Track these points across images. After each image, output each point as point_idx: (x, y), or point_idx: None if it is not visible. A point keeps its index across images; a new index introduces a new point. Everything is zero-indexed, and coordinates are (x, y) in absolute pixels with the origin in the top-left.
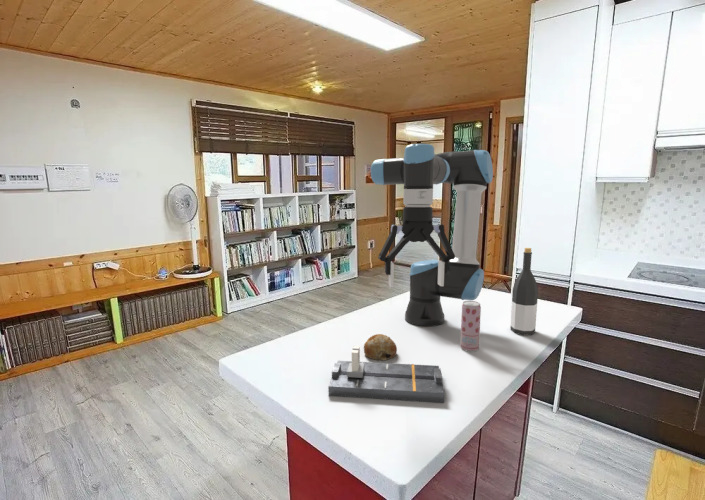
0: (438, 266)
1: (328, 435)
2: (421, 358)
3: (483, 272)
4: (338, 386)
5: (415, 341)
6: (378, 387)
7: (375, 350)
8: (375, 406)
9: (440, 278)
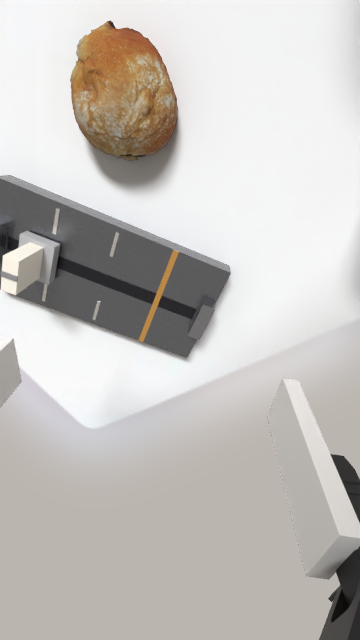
0: (315, 485)
1: None
2: (233, 175)
3: None
4: None
5: (285, 17)
6: (82, 314)
7: (98, 148)
8: (80, 327)
9: (279, 443)
